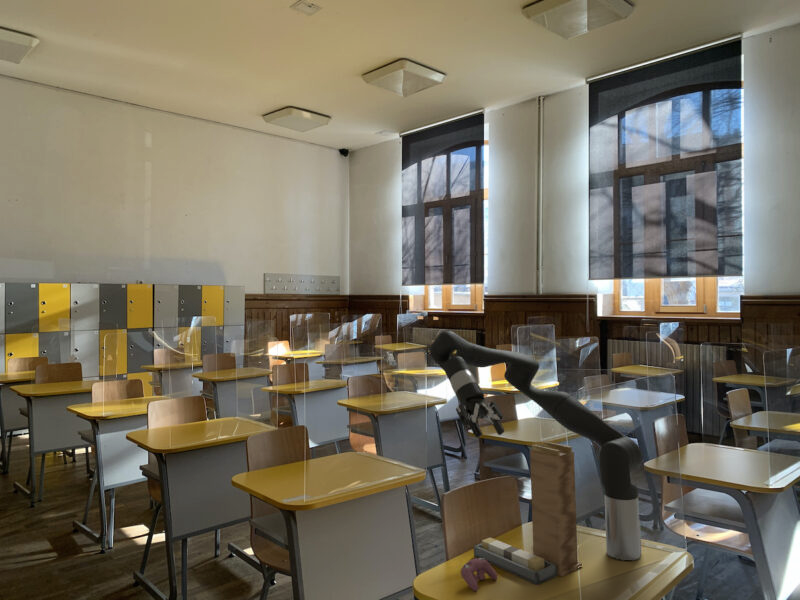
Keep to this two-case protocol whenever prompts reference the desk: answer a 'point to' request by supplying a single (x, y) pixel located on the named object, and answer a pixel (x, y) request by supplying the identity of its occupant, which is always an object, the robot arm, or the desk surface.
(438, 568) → the desk surface
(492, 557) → the parts tray
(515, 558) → the block
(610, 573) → the desk surface
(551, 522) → the brown wooden tall block
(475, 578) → the video game controller
